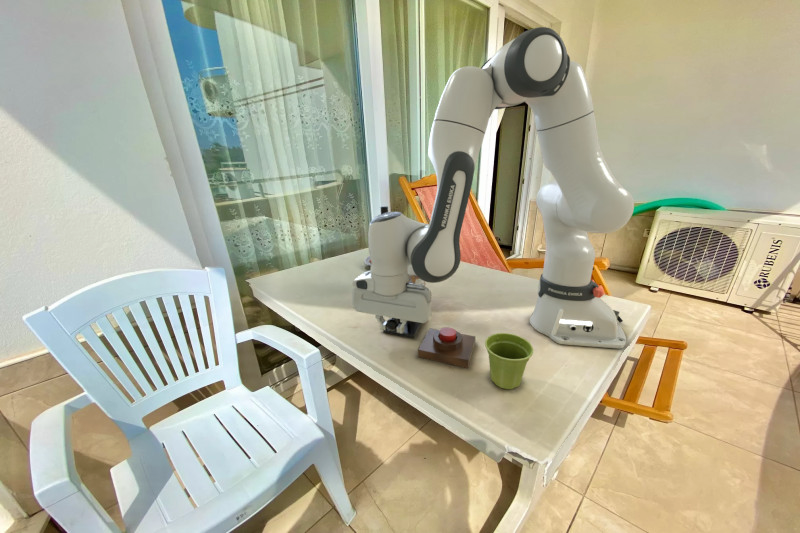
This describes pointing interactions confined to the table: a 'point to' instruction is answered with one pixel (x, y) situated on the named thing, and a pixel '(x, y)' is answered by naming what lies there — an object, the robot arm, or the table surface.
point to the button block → (447, 348)
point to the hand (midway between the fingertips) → (392, 330)
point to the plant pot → (507, 358)
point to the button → (447, 334)
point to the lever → (392, 324)
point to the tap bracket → (407, 329)
